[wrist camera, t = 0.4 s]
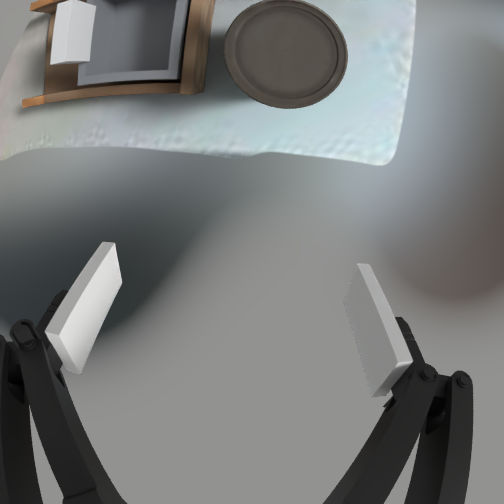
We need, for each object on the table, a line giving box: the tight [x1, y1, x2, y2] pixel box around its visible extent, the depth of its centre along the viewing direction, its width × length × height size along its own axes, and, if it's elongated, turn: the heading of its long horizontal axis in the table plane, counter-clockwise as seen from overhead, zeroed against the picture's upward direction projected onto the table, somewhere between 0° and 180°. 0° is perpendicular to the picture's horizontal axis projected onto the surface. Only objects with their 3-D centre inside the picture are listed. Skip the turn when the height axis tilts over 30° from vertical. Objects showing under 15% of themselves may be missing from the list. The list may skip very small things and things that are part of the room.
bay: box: [22, 0, 215, 108], centre depth 25 cm, size 16×25×8 cm, turn 83°
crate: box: [50, 0, 191, 86], centre depth 22 cm, size 13×12×12 cm
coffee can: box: [223, 0, 348, 109], centre depth 25 cm, size 10×10×14 cm
